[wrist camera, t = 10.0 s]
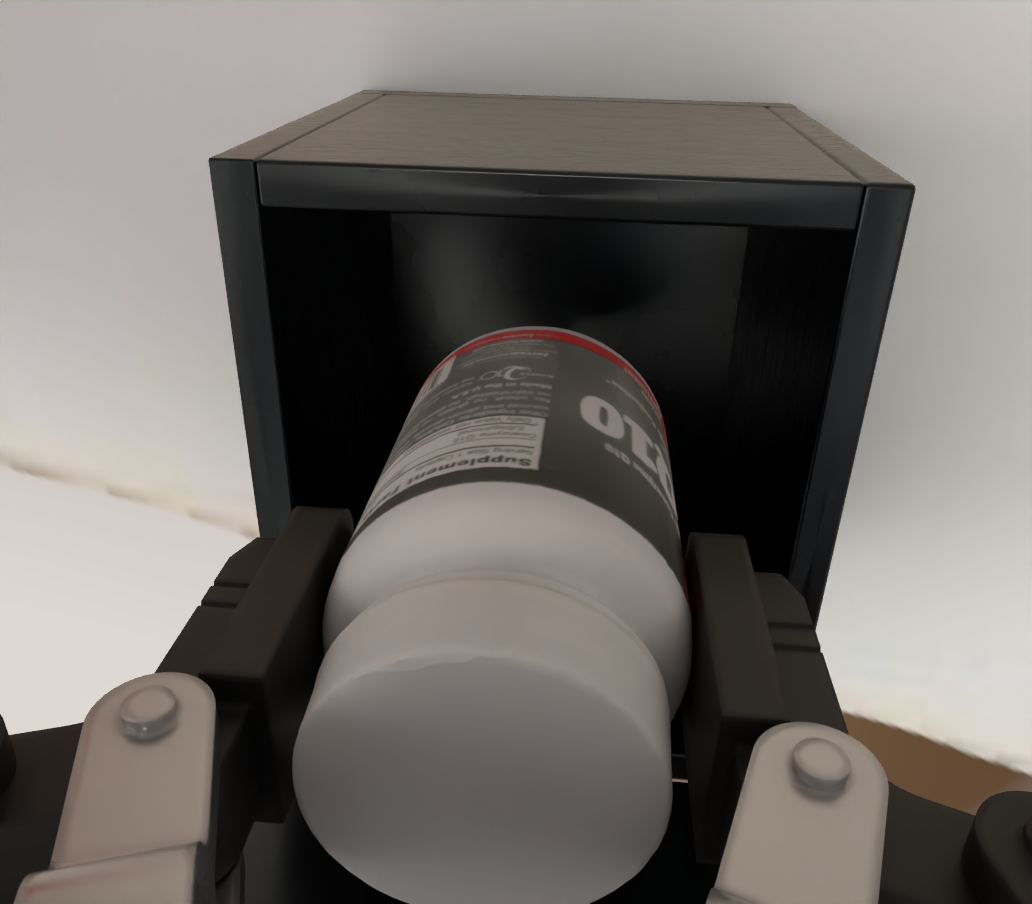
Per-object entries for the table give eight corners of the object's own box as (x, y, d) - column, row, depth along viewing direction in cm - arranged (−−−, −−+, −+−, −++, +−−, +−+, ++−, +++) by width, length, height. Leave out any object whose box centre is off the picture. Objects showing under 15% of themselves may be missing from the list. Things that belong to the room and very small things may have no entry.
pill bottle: (697, 506, 17) (771, 911, 10) (471, 570, 18) (381, 976, 11) (616, 279, 15) (630, 567, 8) (368, 367, 16) (173, 691, 9)
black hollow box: (362, 89, 24) (207, 158, 15) (791, 103, 24) (918, 184, 14) (386, 511, 31) (287, 748, 21) (725, 533, 30) (780, 789, 20)
